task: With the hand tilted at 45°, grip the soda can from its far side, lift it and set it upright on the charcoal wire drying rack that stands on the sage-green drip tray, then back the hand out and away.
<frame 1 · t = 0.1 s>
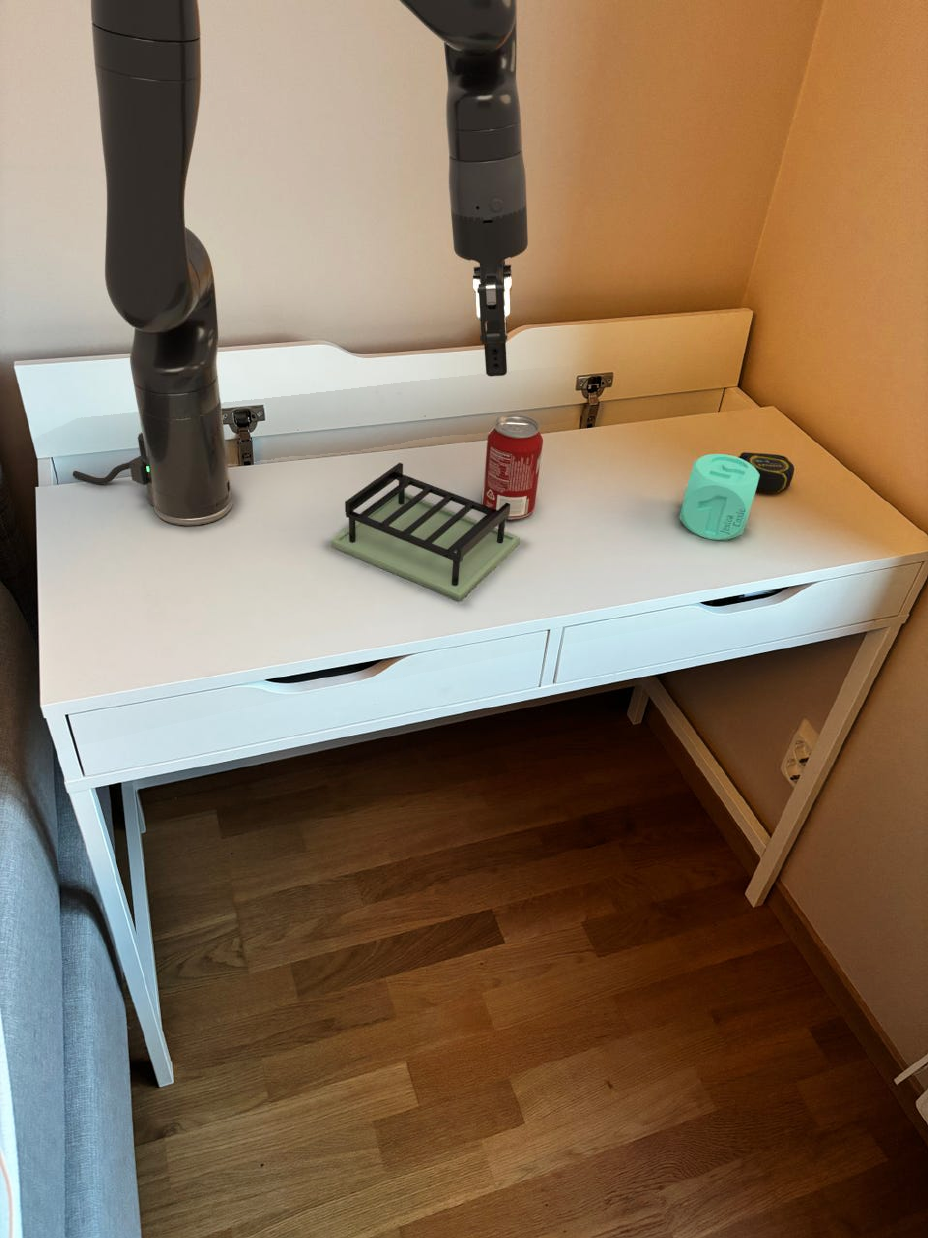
hand: (497, 357, 103), 22 cm above the table, tool pointing down, fingers open, 8 cm apart
drip tray: (426, 545, 114), on the table
drying rack: (426, 545, 114), resting on drip tray
soda can: (507, 510, 121), on the table
tape measure: (759, 483, 130), on the table
decorative dice: (711, 524, 121), on the table
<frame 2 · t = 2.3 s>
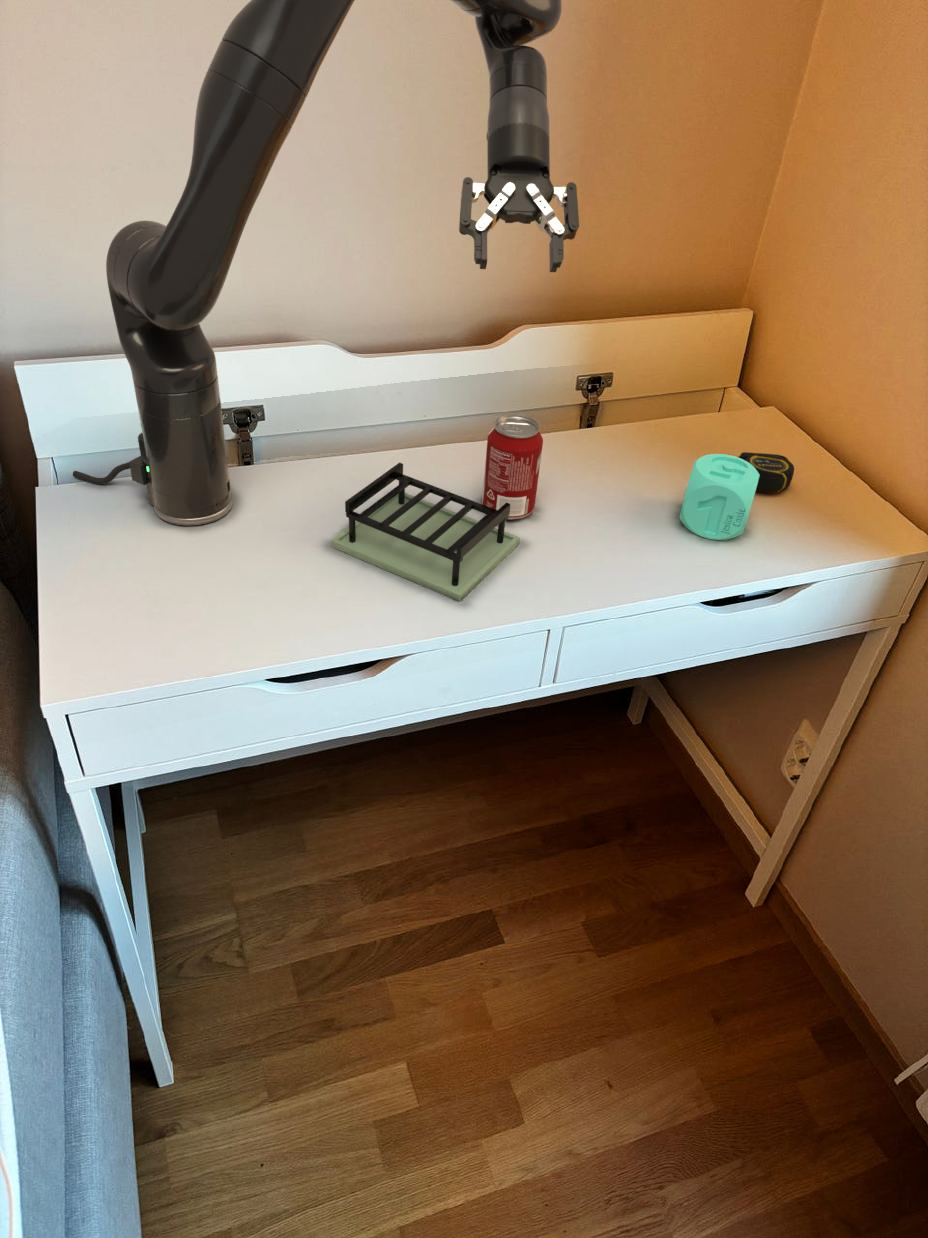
hand: (519, 267, 113), 27 cm above the table, tool tilted 45°, fingers open, 8 cm apart
nothing on the table moved.
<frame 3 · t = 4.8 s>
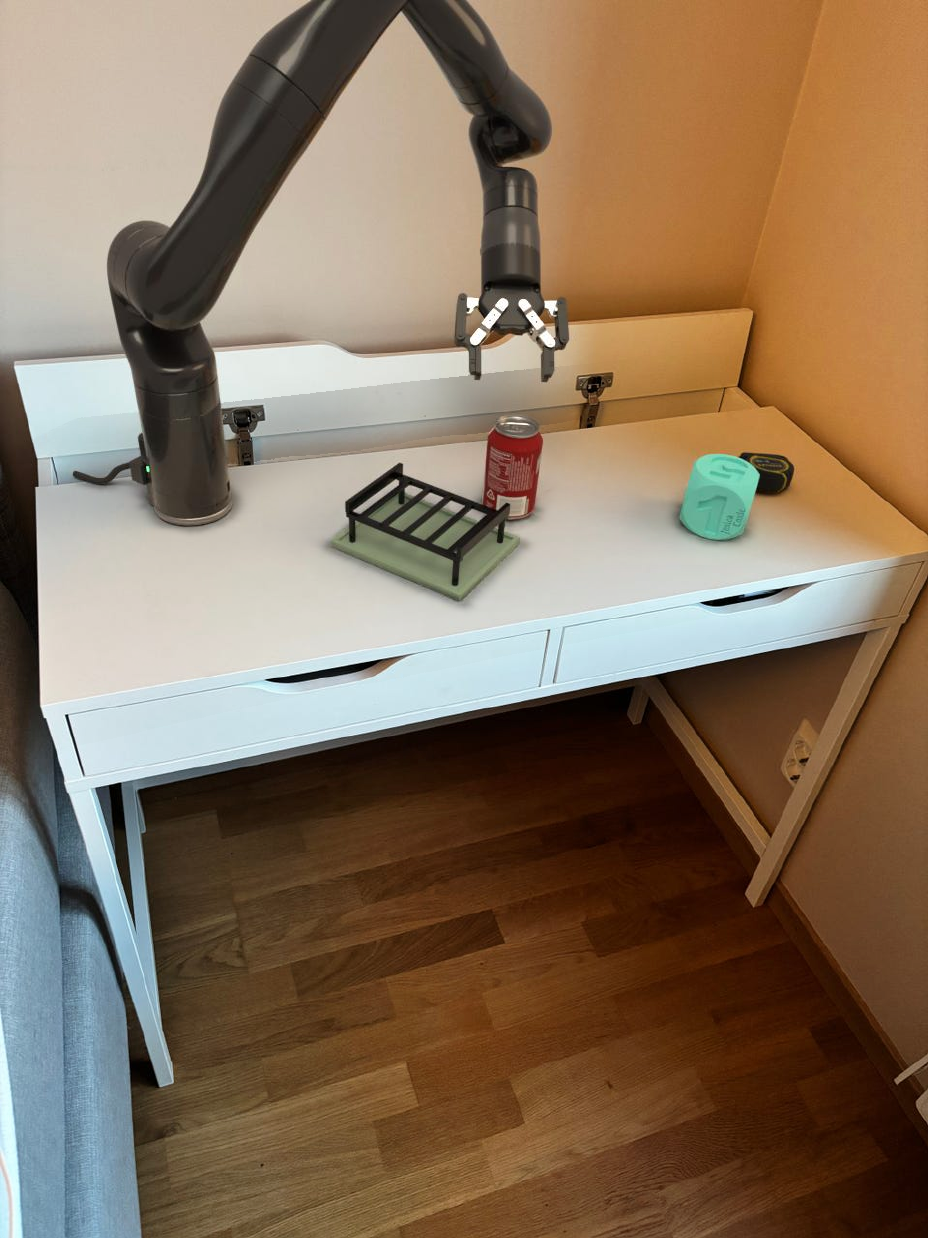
hand: (511, 379, 118), 14 cm above the table, tool tilted 45°, fingers open, 8 cm apart
nothing on the table moved.
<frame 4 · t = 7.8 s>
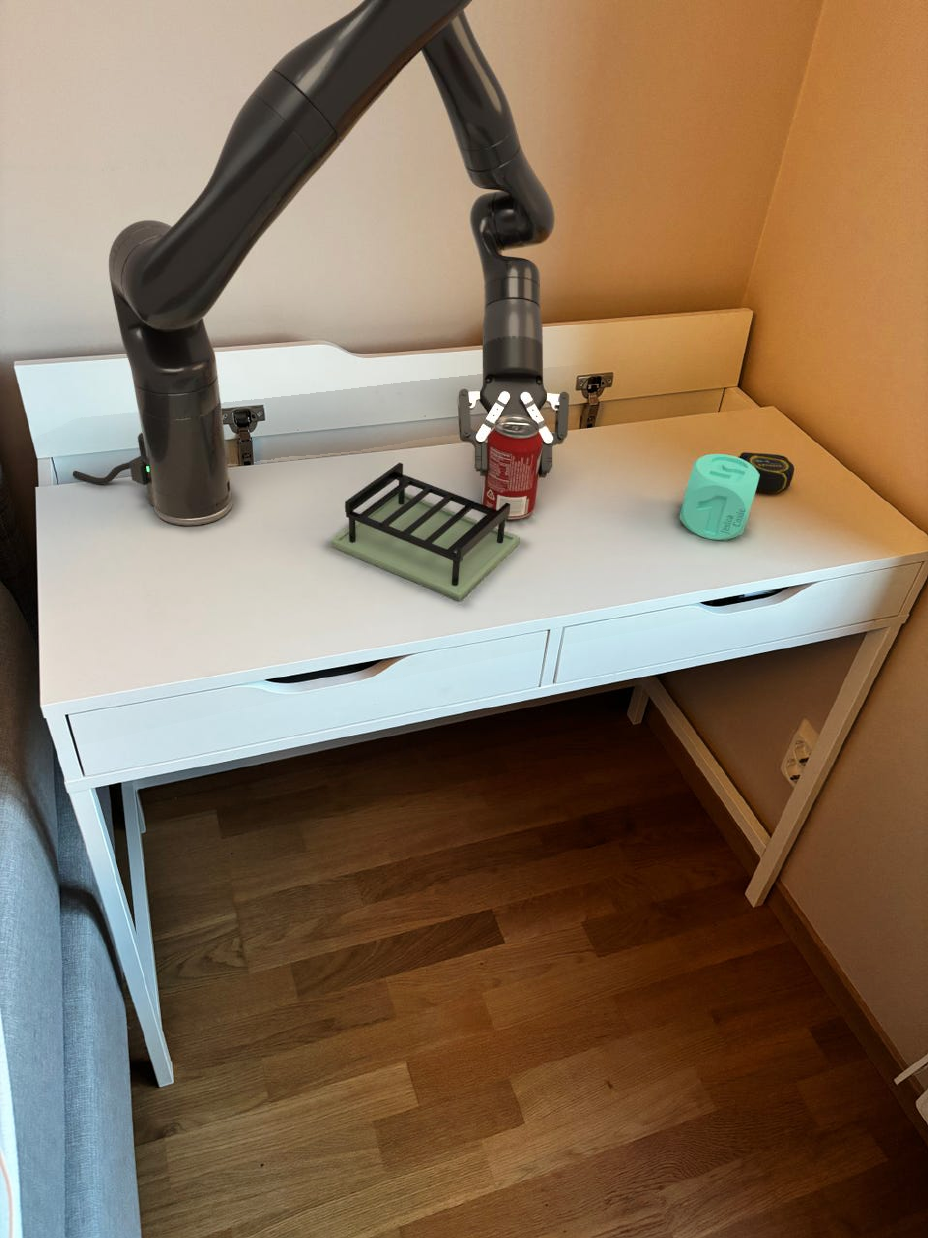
hand: (513, 475, 116), 6 cm above the table, tool tilted 45°, fingers closed on soda can, 7 cm apart
soda can: (507, 510, 121), on the table, touching gripper
everything else where it was.
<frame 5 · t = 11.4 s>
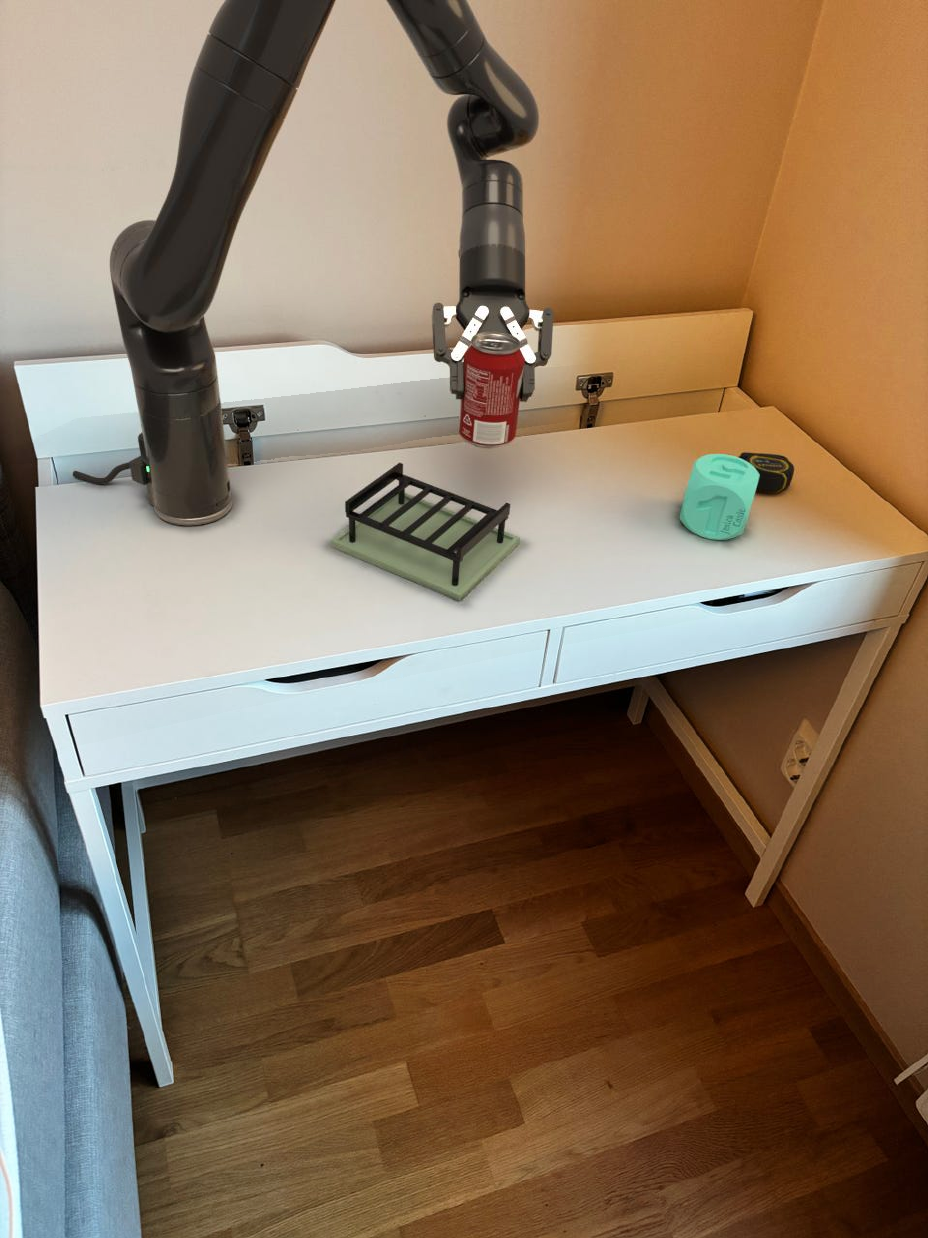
hand: (492, 398, 106), 18 cm above the table, tool tilted 45°, fingers closed on soda can, 7 cm apart
soda can: (486, 439, 111), point 11 cm above the table, touching gripper
everything else where it was.
when the fingers open (11 cm above the table, at t = 15.5 s): soda can stays where it is, resting on drying rack.
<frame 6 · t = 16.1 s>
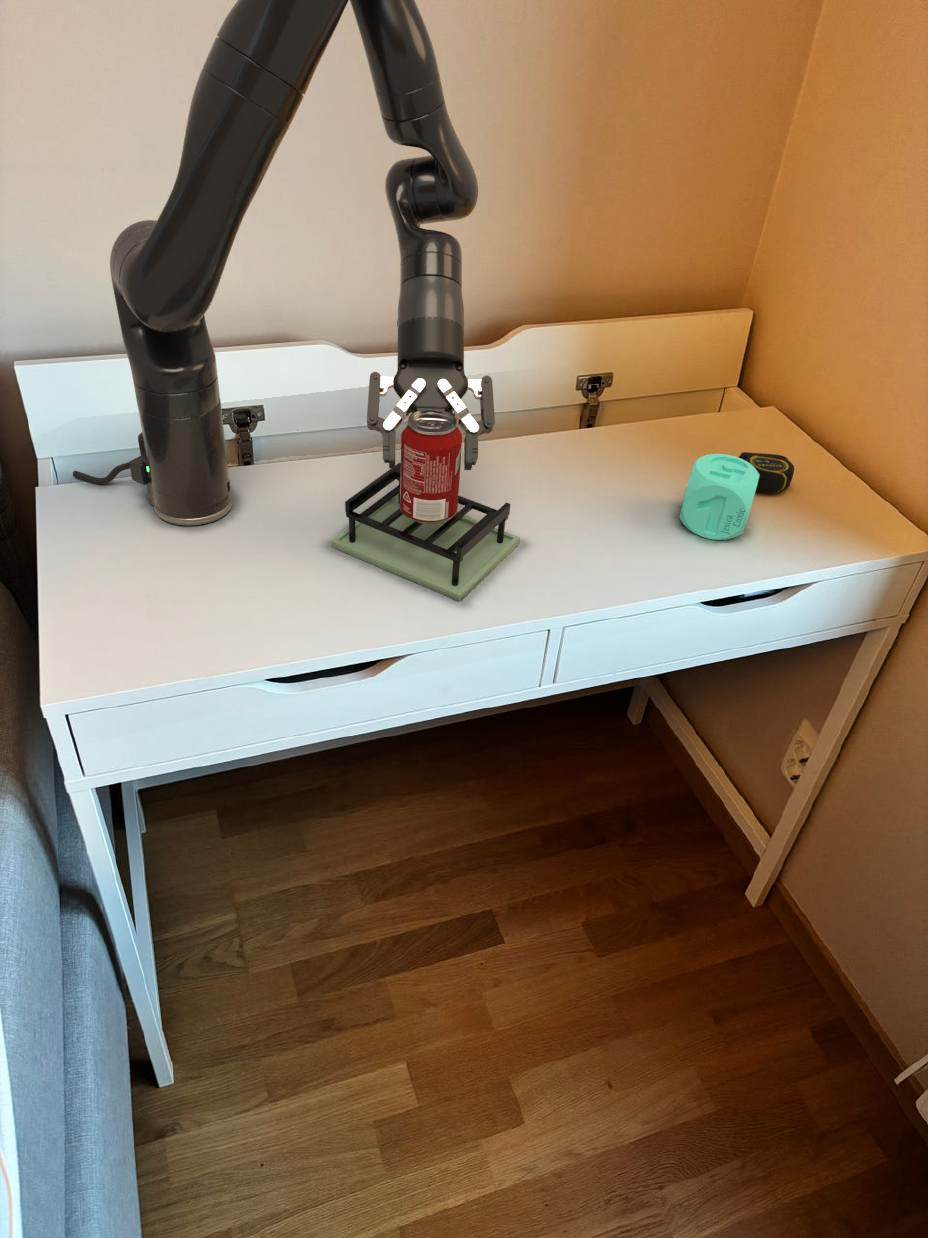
hand: (430, 467, 105), 12 cm above the table, tool tilted 45°, fingers open, 8 cm apart
soda can: (428, 514, 111), point 4 cm above the table, touching drying rack
everything else where it was.
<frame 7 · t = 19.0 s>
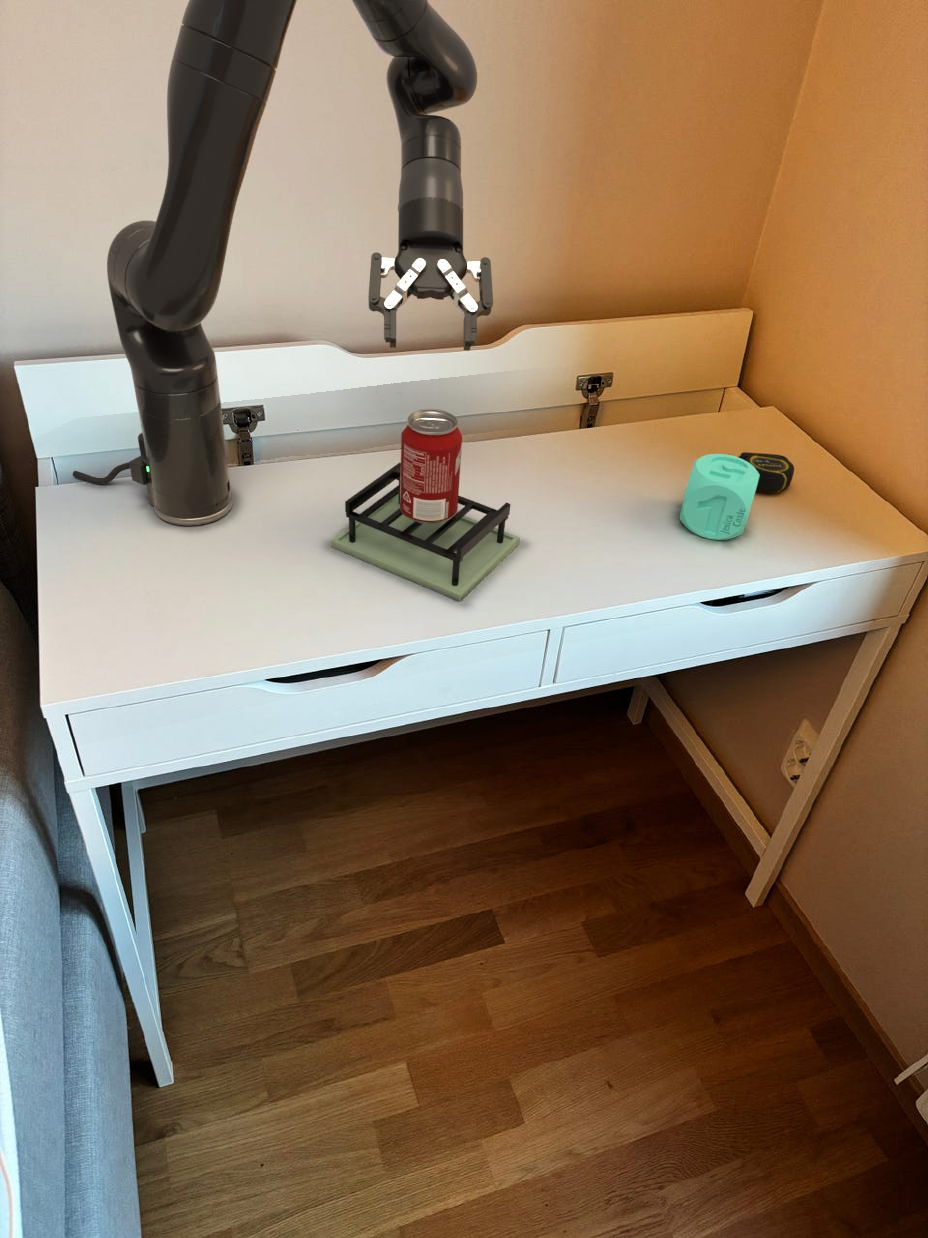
hand: (430, 346, 108), 21 cm above the table, tool tilted 45°, fingers open, 8 cm apart
nothing on the table moved.
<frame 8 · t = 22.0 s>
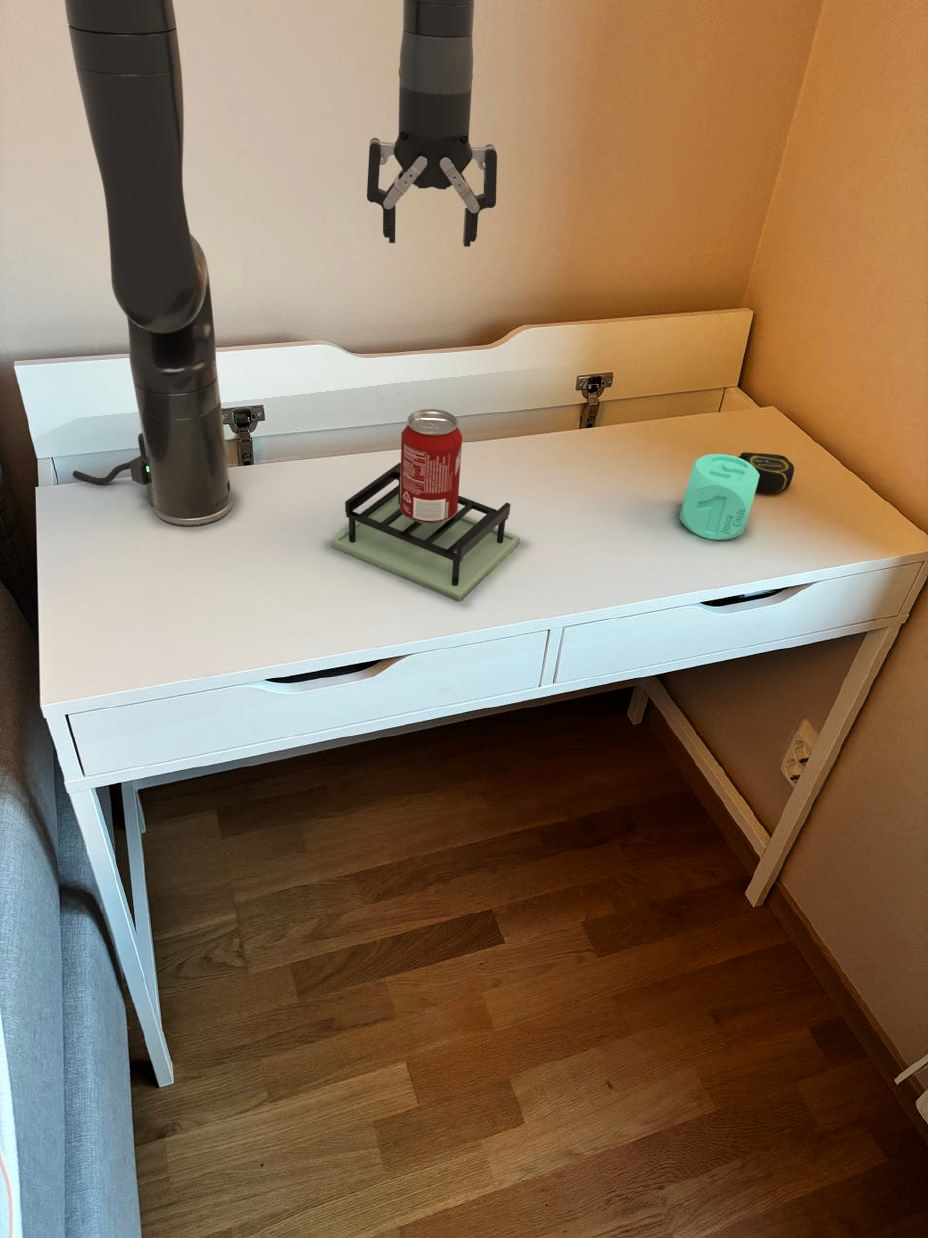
hand: (429, 242, 108), 30 cm above the table, tool pointing down, fingers open, 8 cm apart
nothing on the table moved.
at the end: soda can inside the target area on the drying rack (0.2 cm from its centre), point 4.4 cm above the drying rack's base; soda can tilted 0°; the gripper is holding nothing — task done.
